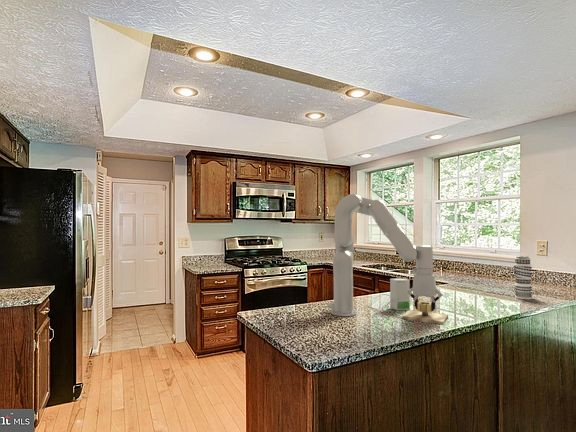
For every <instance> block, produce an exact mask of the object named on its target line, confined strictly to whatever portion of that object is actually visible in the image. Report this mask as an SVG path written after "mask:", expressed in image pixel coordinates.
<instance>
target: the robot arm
mask: <svg viewBox="0 0 576 432" xmlns="http://www.w3.org/2000/svg"><path fill="white" fill-rule="evenodd" d="M353 213H358V214H361V215H364V216H365V215H366V216H370V217H372V219H373V220H374V222H375V223H376V224H377V226H378V228H379V229H380V230H381V232H382V234H383V235H384V236H385V238H387V239H388V240H389V241H390V243H391V244H392V246H393V248H394V249H395V251H396V252H397V253H398V256H399V257H400V258H401V259H402V260H403V261H404V262H407V263H411V262H413V261H415V267H414V268H412V271H413V272H414V274H413V279H412V287H411V288H410V290H409V291H408V294H409V295H410V298H412V300H413V302H414V304H413V305H414V308H415V310H417V303H418V302H420V301H419V299H418V298H419V297H426V298H427V297H429V298H430V299H431V302H430V303H431V311H432V312H434V311H435V310H436V302H437V301H439V299H441V297H443V293H442V292H441V291H440V290H439V289H438V288H437V282H436V280H437V279H436V277H435V274H434V261H433V259H434V255H433V254H434V253H433V252H434V251H433V247H432V246H431V245H425V244H424V245H413V243H412V242H411V241H410V239H409V238H408V236H407V234H405V232H404V230H403V228H402V227H401V225H400V224H399V223H398V221H397V220H396V217H394V215H393V213H392V212H391V211H390V210H389V208H388V207H387V205H386V204H385V203H384V201H383V200H381V199H378V198H377V199H371V198H367V197H362V196H360V195H359V194H356V193H350V194H347V195H346V196H344V197H343V198H342V199H340V201H339V202H338V203H337V205H336V208H335V212H334V235H333V236H334V237H333V239H334V240H333V241H334V243H335V244H334V245H335V253H334V255H333V258H332V268H333V269H332V271H333V272H332V273H333V303H331V302H327V304H326V307H327V308H328V309H329V308H330V314H332V315H333V316H338V317H352V316H356V315H357V310H356V309H354V276H353V275H354V274H353V271H354V269H353V267H354V266H353V265H354V264H353V262H354V234H353V232H352V231H353V230H352V228H353V227H352V222H353V218H352V216H353ZM436 295H437V296H436Z"/></svg>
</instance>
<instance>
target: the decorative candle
mask: <svg viewBox="0 0 576 432" xmlns="http://www.w3.org/2000/svg"><path fill="white" fill-rule="evenodd" d="M514 262H515V263H514V265H513V267H514V269H513V271H514V279H515V285H514V290H515V291H514V295H515V298H517V299H521V300H532V299H533V298H532V297H533V292H532V291H533V289H532V288H533V286H532V283H531V282H532V281H531V280H532V277H533V276H532V274H533V273H532V271H533V270H532V269H533V267H532V264H531V258H530V257H529V256H528V255H517V256H516V257H515V258H514Z"/></svg>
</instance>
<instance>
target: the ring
mask: <svg viewBox="0 0 576 432" xmlns="http://www.w3.org/2000/svg"><path fill="white" fill-rule="evenodd" d="M416 311H420V312H427V313H428V312H430V313H433V311H431V302H430V301H419V302H418V303H417V309H416Z"/></svg>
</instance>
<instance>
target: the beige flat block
mask: <svg viewBox="0 0 576 432" xmlns="http://www.w3.org/2000/svg"><path fill="white" fill-rule="evenodd" d="M448 318H449V314H446V313H445V314H442V313H437V312H428V313H427V312H420V311H417V310H414V309H413V310H412V309H410V310H406V312H405V313H403V315H401V319H402V320H409V321H416V322H417V321H418V322H423V323H429V322H430V324H439V325H444V324H445V323H446V321H447V320H448Z"/></svg>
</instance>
